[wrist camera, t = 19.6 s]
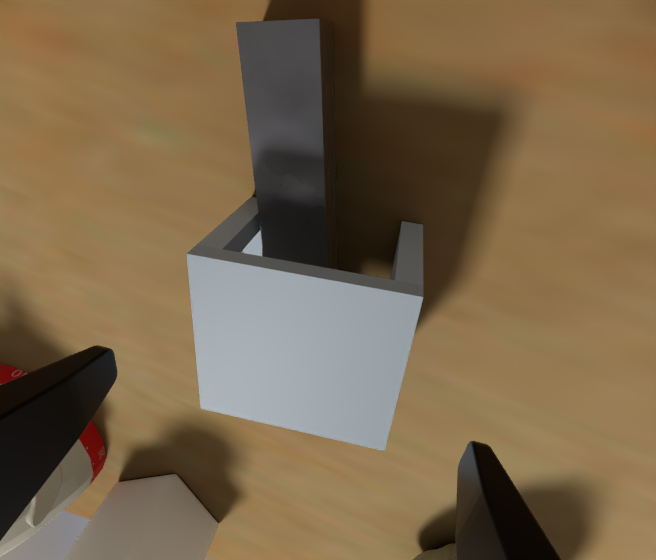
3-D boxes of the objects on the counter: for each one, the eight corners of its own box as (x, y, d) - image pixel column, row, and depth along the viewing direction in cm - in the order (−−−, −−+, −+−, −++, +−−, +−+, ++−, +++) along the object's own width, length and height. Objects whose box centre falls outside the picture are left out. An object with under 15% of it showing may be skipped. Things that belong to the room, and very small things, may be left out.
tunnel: (423, 224, 19) (423, 297, 14) (393, 354, 23) (384, 451, 18) (251, 196, 20) (186, 253, 15) (251, 325, 24) (200, 408, 19)
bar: (334, 22, 16) (319, 18, 14) (341, 396, 26) (333, 433, 24) (263, 26, 17) (235, 22, 14) (296, 390, 27) (283, 427, 24)
